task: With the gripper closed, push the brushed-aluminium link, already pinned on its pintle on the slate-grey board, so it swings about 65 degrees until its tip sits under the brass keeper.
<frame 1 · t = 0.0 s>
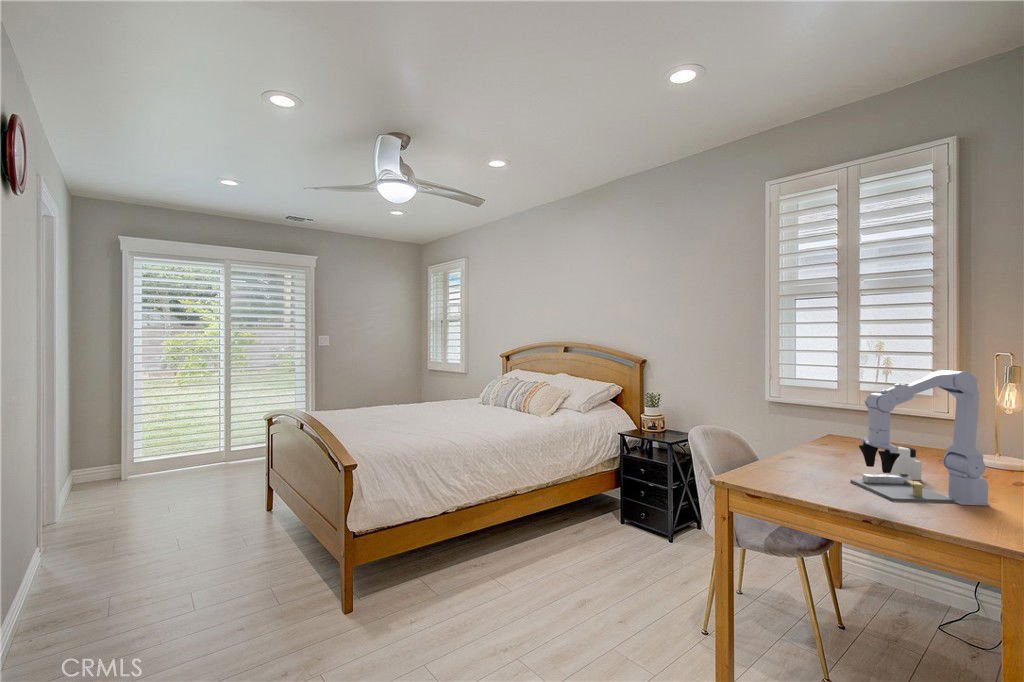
hand: (878, 469, 163), 10 cm above the table, tool pointing down, fingers open, 7 cm apart
board: (899, 491, 171), on the table
keeper: (917, 499, 164), resting on board
link: (887, 479, 178), point 2 cm above the table, hinge at 0.0°
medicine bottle: (905, 478, 189), on the table
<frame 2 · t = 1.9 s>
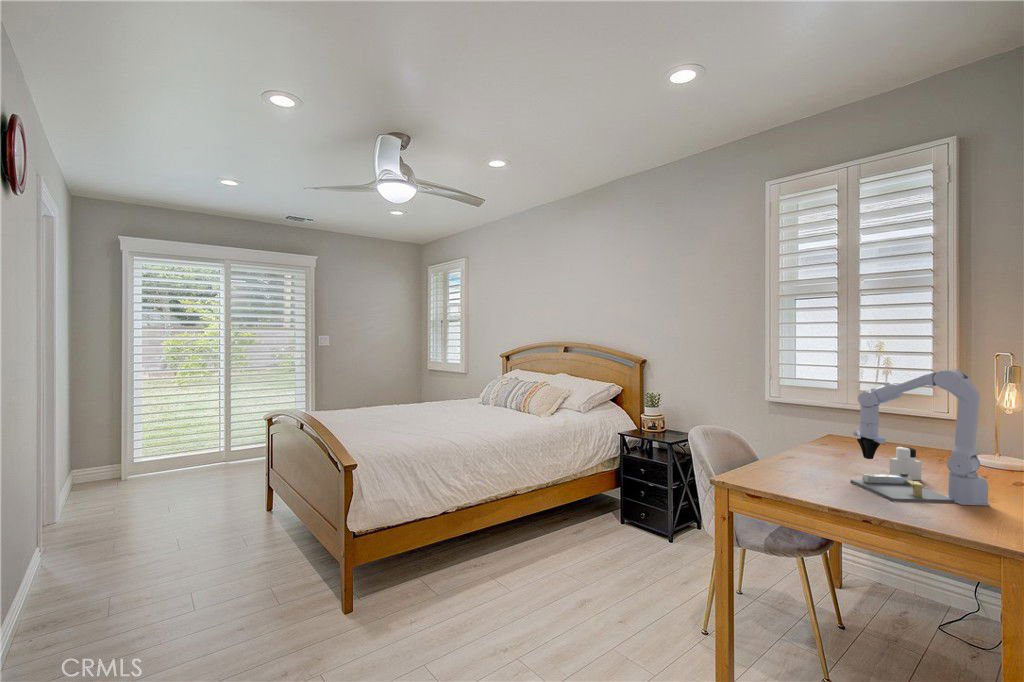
hand: (868, 458, 185), 8 cm above the table, tool pointing down, fingers closed
nothing on the table moved.
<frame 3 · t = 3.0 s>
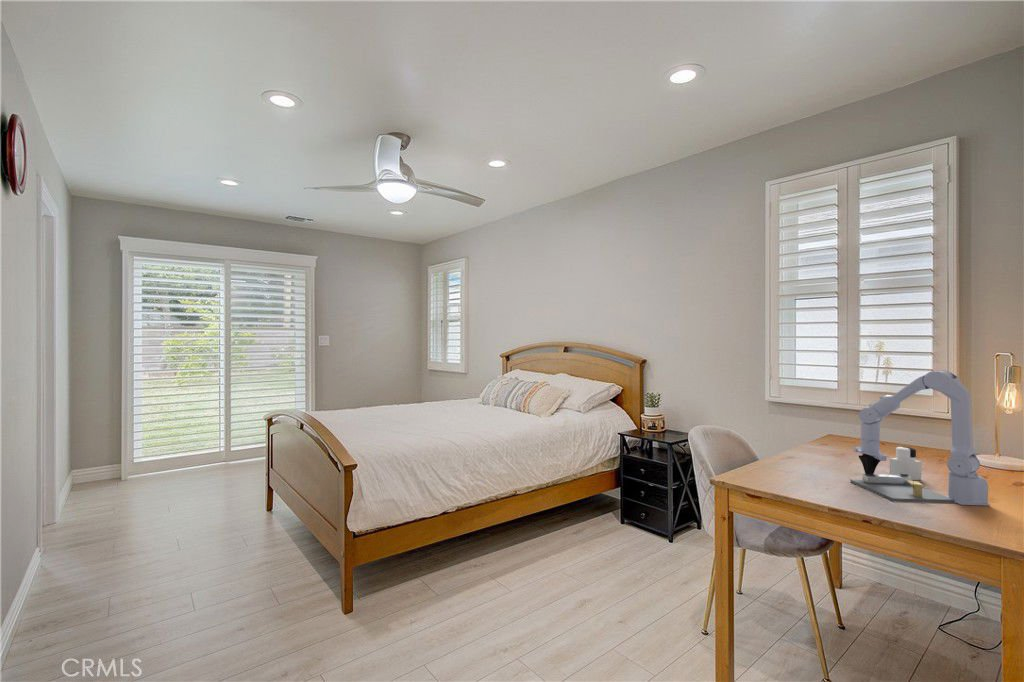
hand: (869, 475, 184), 2 cm above the table, tool pointing down, fingers closed
nothing on the table moved.
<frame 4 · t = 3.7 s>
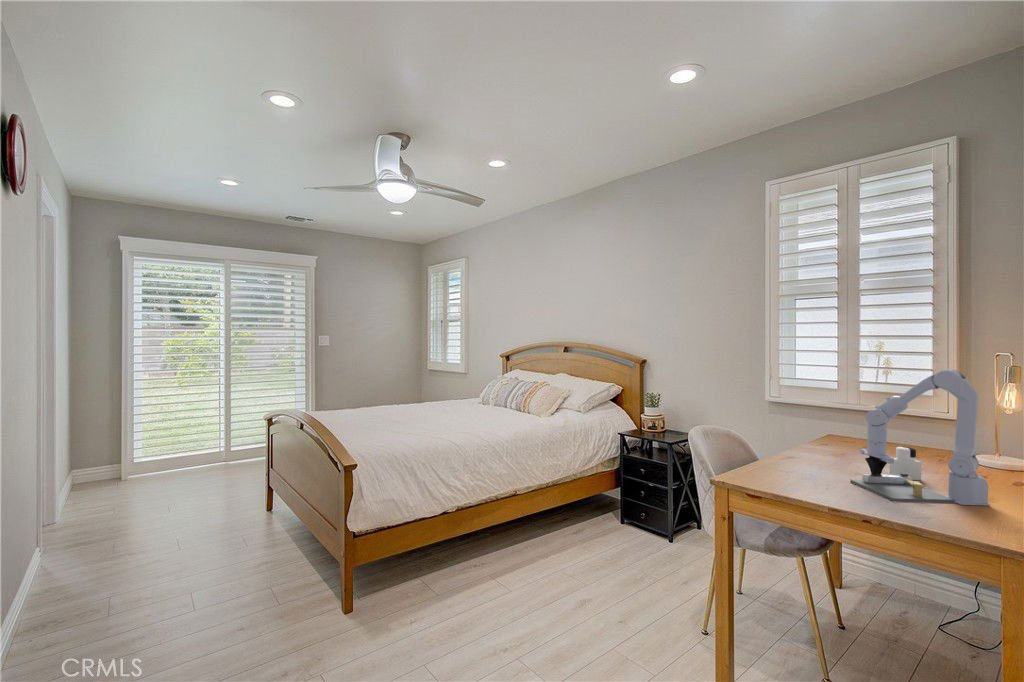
hand: (875, 477, 181), 2 cm above the table, tool pointing down, fingers closed
link: (887, 479, 178), point 2 cm above the table, hinge at 0.1°, touching gripper
everything else where it was.
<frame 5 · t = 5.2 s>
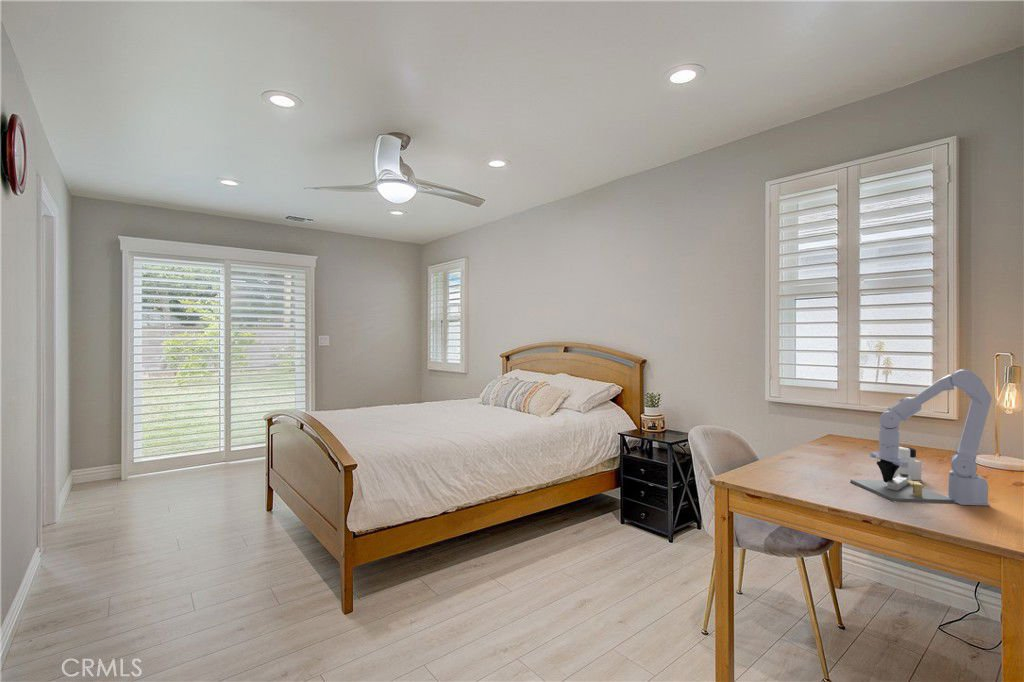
hand: (887, 482, 175), 2 cm above the table, tool pointing down, fingers closed
link: (899, 482, 174), point 2 cm above the table, hinge at 39.8°, touching gripper
everything else where it was.
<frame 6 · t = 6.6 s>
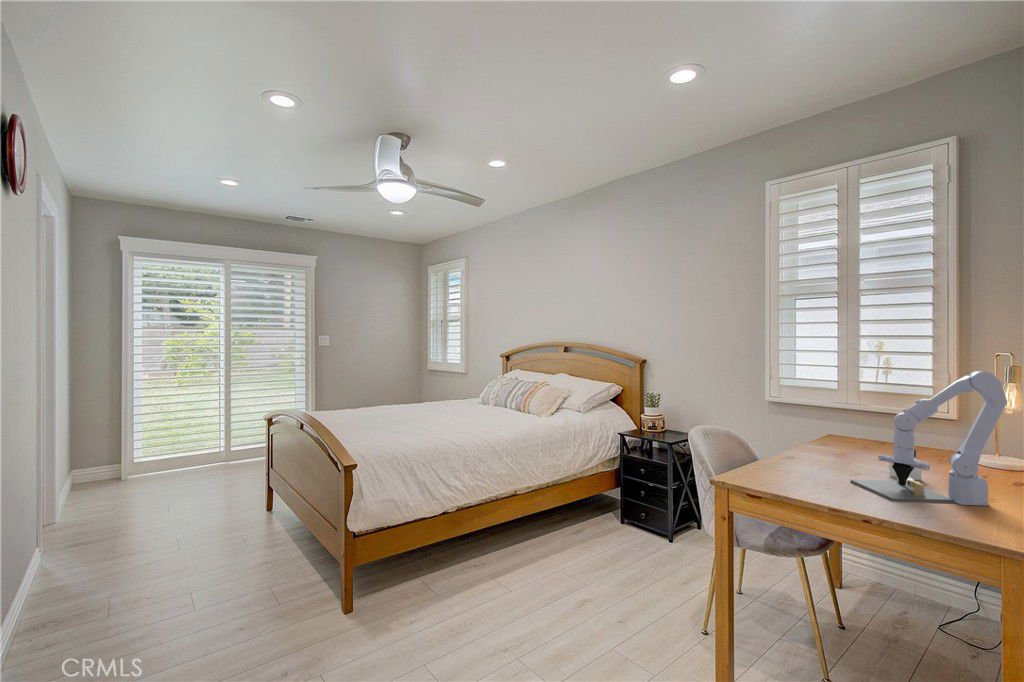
hand: (902, 485, 172), 2 cm above the table, tool pointing down, fingers closed
link: (910, 483, 173), point 2 cm above the table, hinge at 69.0°, touching gripper
everything else where it was.
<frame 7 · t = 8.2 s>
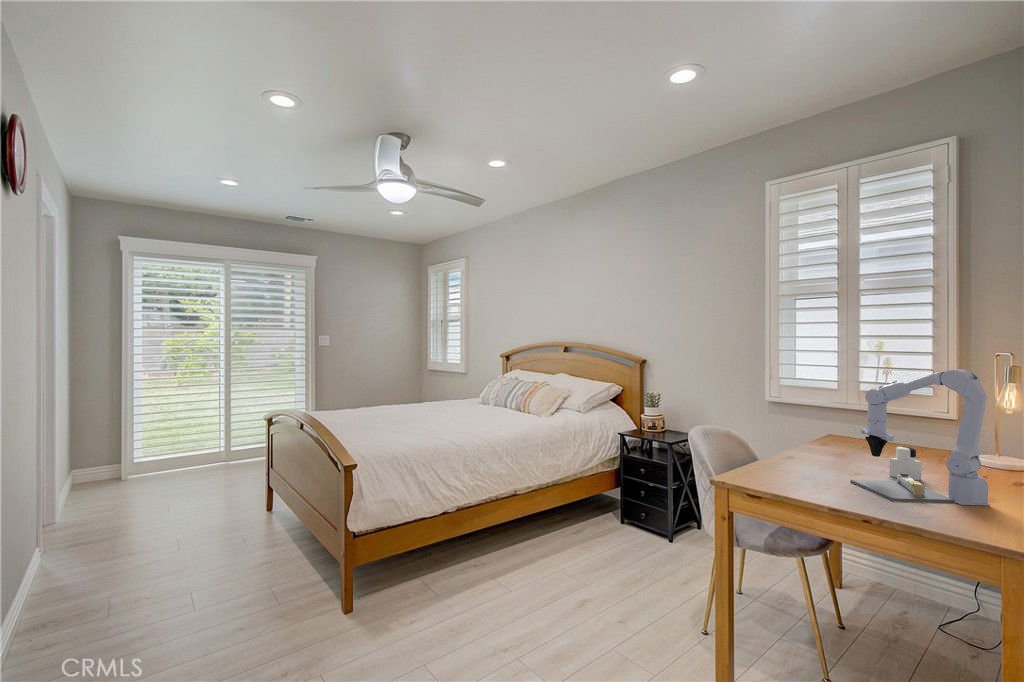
hand: (875, 456, 184), 9 cm above the table, tool pointing down, fingers closed
link: (910, 483, 173), point 2 cm above the table, hinge at 69.1°
everything else where it was.
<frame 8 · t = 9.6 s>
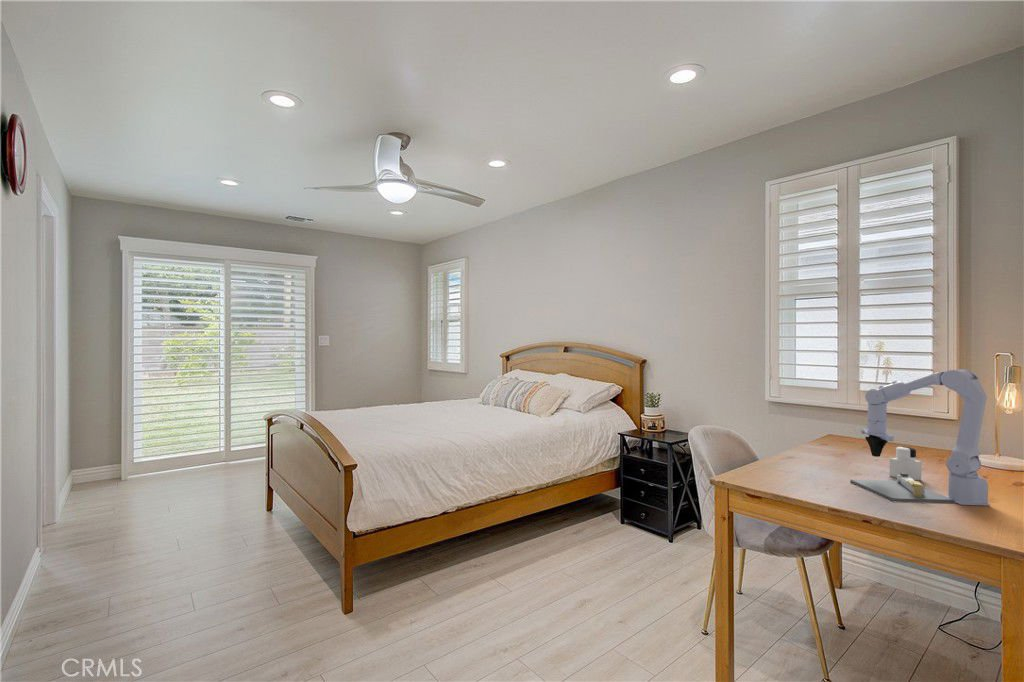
hand: (876, 456, 184), 9 cm above the table, tool pointing down, fingers closed
nothing on the table moved.
at the end: link at +69° (first picture: +0°); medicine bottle moved 0.2 cm from its start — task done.
